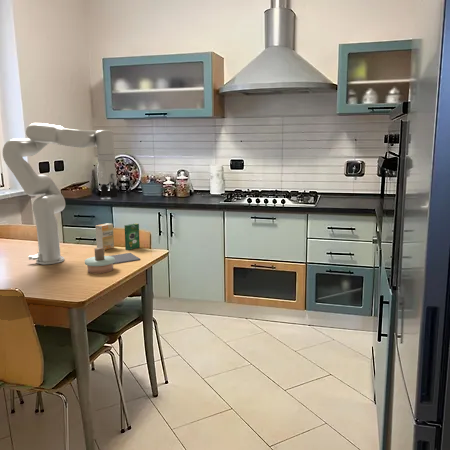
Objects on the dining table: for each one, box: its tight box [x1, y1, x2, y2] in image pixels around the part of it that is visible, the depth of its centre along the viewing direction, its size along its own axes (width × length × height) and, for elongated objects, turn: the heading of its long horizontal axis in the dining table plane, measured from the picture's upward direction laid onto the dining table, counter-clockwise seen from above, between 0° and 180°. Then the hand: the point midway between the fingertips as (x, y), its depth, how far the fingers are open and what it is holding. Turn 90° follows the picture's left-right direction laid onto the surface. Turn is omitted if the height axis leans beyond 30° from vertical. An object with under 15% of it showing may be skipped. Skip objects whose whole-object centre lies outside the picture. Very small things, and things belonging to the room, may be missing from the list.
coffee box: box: [124, 222, 141, 251], centre depth 248 cm, size 8×3×13 cm, turn 142°
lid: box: [84, 247, 115, 266], centre depth 210 cm, size 13×13×6 cm
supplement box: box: [95, 222, 115, 251], centre depth 249 cm, size 8×5×13 cm, turn 148°
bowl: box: [86, 263, 114, 275], centre depth 211 cm, size 11×11×4 cm
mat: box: [111, 252, 141, 265], centre depth 229 cm, size 14×14×1 cm
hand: (109, 196), depth 214 cm, fingers open, 9 cm apart
